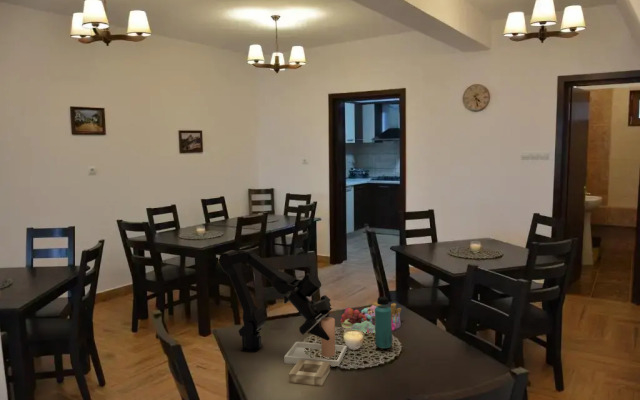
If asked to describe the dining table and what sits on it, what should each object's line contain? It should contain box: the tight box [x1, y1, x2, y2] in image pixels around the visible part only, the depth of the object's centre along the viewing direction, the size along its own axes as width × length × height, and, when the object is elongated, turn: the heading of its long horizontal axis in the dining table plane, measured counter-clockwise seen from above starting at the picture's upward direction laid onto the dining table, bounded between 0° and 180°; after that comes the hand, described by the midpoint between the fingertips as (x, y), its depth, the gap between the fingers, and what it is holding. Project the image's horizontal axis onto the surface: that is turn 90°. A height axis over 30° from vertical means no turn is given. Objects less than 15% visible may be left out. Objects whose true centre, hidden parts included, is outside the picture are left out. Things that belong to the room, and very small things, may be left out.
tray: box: [283, 341, 348, 367], centre depth 186 cm, size 20×14×2 cm
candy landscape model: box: [340, 301, 402, 333], centre depth 218 cm, size 25×24×9 cm
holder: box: [288, 360, 331, 387], centre depth 171 cm, size 11×11×3 cm
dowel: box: [320, 316, 336, 357], centre depth 183 cm, size 5×5×13 cm
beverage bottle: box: [374, 296, 393, 349], centre depth 192 cm, size 6×7×20 cm
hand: (331, 337), depth 183 cm, fingers closed on dowel, 5 cm apart
